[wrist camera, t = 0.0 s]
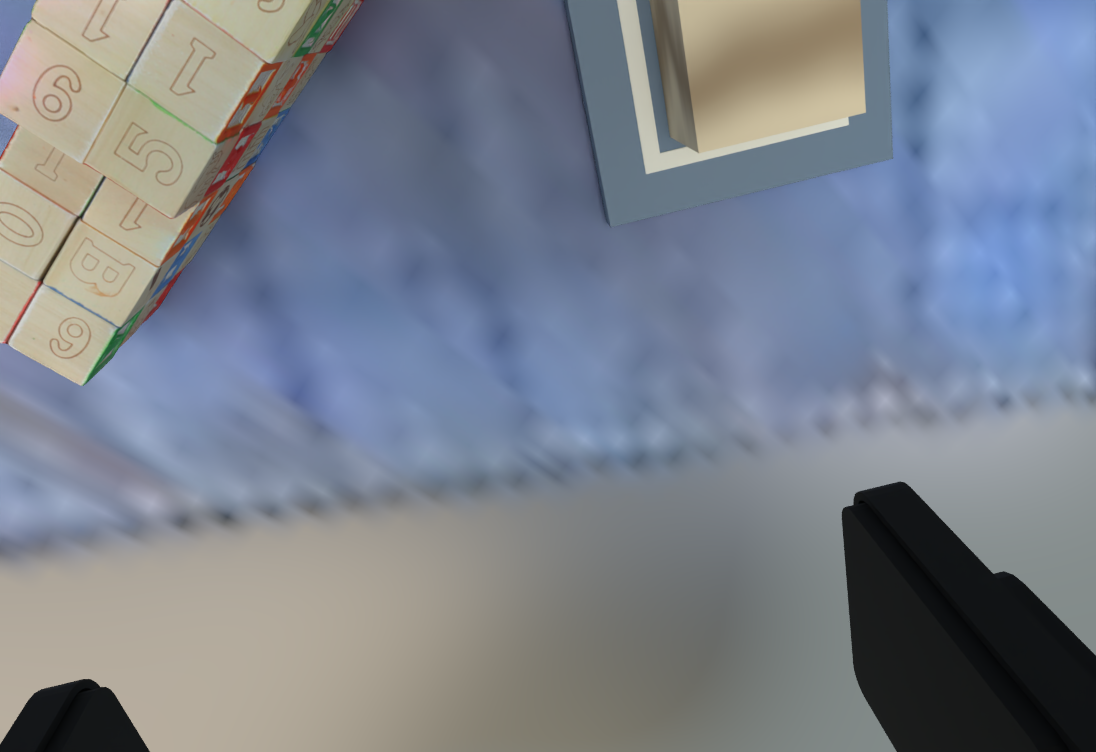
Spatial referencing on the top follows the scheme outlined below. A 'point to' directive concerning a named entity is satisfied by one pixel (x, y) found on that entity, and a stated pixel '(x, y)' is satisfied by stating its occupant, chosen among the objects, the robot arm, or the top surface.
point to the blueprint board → (700, 178)
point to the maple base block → (757, 67)
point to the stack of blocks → (134, 153)
